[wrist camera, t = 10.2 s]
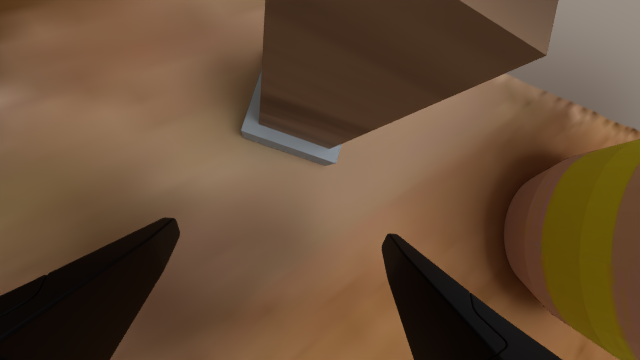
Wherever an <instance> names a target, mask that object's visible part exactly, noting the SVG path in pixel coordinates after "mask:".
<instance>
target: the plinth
mask: <svg viewBox="0 0 640 360" xmlns="http://www.w3.org/2000/svg"><path fill="white" fill-rule="evenodd" d="M261 75H262V68H261V72H260V75H259V78H258V81H257V84H256V87H255V90H254V93H253V96H252V99H251V102H250V105H249V108H248V111H247V114H246V117H245V120H244V123H243V126H242V129H241V132H242V136H243V138H246V139H248V140H251V141H254V142H257V143H260V144H263V145H266V146H269V147H272V148H275V149H278V150H281V151H284V152H287V153H290V154H293V155H296V156H299V157H302V158H305V159H308V160H311V161H313V162H316V163H319V164H322V165H325V166H326V165H331V164H336V162H337V158H338V155H339V152H340V148H341V145H342V144H340V145H338V146H335V147H333V148H331V149H328V148H325V147H322V146H319V145H316V144H314V143H311V142H308V141H305V140H302V139H299V138H297V137H294V136H291V135H288V134H285V133H282V132H279V131H277V130H274V129H271V128H268V127H265V126H262V125H260V124H259V112H260V94H261Z"/></svg>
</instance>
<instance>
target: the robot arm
mask: <svg viewBox="0 0 640 360" xmlns="http://www.w3.org/2000/svg"><path fill="white" fill-rule="evenodd" d="M179 236H180V231H179V228H178V224H177V221H176V219H175V218H166V217H165V218H162V219H160V220H158V221H156V222H154V223H152V224H150V225H147V226H145V227H143V228H141V229H139V230H137V231H135V232H133V233H131V234H129V235H127V236H125V237H123V238H121V239H119V240H117V241H114V242H112V243H110V244H108V245H106V246H104V247H102V248H100V249H98V250H96V251H94V252H92V253H90V254H88V255H86V256H83V257H81V258H79V259H77V260H75V261H73V262H71V263H69V264H67V265H65V266H63V267H61V268H59V269H57V270H55V271H52V272H50V273H49V274H48V275H43V276H41V277H39V278H37V279H35V280H33V281H31V282H29V283H27V284H25V285H23V286H20V287H18V288H16V289H14V290H12V291H10V292H8V293H6V294H3V295H1V296H0V360H110V358H111V357H112V355H113V353H114V352H115V350H116V348H117V347H118V345H119V343H120V342H121V340H122V339H123V337H124V335H125V334H126V332H127V330H128V329H129V327H130V325H131V324H132V322H133V320H134V319H135V317H136V315H137V314H138V312H139V311H140V309H141V307H142V306H143V304H144V302H145V301H146V299H147V297H148V296H149V294H150V292H151V291H152V289H153V287H154V286H155V284H156V282H157V281H158V279H159V278H160V276H161V274H162V272H163V271H164V269H165V267H166V265H167V263H168V261H169V259H170V256H171V254H172V252H173V250H174V248H175V245H176V243H177V241H178V239H179ZM382 254H383V259H384V264H385V269H386V274H387V278H388V282H389V285H390V288H391V291H392V294H393V297H394V300H395V303H396V306H397V309H398V312H399V315H400V319H401V322H402V325H403V328H404V331H405V334H406V337H407V340H408V343H409V346H410V349H411V352H412V355H413V358H414V360H562V359H561V358H559V357H558V356H556V355H555V354H553V353H552V352H551V351H549V350H548V349H546V348H545V347H544V346H542V345H541V344H539V343H538V342H537V341H535V340H534V339H532V338H531V337H530V336H528V335H527V334H525V333H524V332H523V331H521V330H520V329H518V328H517V327H516V326H514V325H513V324H511V323H510V322H509V321H507V320H506V319H505V318H503V317H502V316H500V315H499V314H498V313H496V312H495V311H494V310H492V309H491V308H490V307H489V306H487V305H486V304H485V303H483V302H482V301H481V300H480V299H478V298H477V297H476V296H475V295H473V294H472V293H470V292H469V291H468V290H466V289H465V288H464V287H463V286H461V285H460V284H459V283H458V282H456V281H455V280H454V279H453V278H451V277H450V276H449V275H448V274H446V273H445V272H444V271H443V270H441V269H440V268H439V267H438V266H436V265H435V264H434V263H433V262H431V261H430V260H429V259H427V258H426V257H425V256H424V255H422V254H421V253H420V252H419V251H417V250H416V249H415V248H414V247H412V246H411V245H410V244H409V243H407V242H406V241H405V240H404V239H402V238H401V237H400V236H399V235H397V234H387V236H386V238H385V240H384V242H383V244H382Z"/></svg>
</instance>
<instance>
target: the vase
mask: <svg viewBox="0 0 640 360" xmlns="http://www.w3.org/2000/svg"><path fill="white" fill-rule="evenodd" d="M504 246H505V251H506V255H507V259H508V261H509V264H510V266H511V268H512V270H513V271H514V273H515V274H516V276H517V277H518V278H519V279H520V280H521V281H522V283H523V284H524V285H525V286H526V287H527V288H528V289H529V290H530V291H531V292H532V294H533V295H534V296H535V297H536V298H537V299H538V300H539V301H540V302H541V303H542V305H543V306H544V307H545V308H546V309H547V310H548V311H549V312H550V313H551V314H553V315H554V316H555V317H557V318H558V319H560V320H561V321H563V322H564V323H566V324H567V325H569V326H570V327H572V328H573V329H575V330H576V331H578V332H579V333H581V334H582V335H584V336H585V337H586V338H588V339H589V340H591V341H592V342H594V343H595V344H597V345H598V346H600V347H601V348H603V349H604V350H606V351H607V352H609V353H610V354H612V355H613V356H615V357H616V358H618V359H620V360H640V139H638V140H634V141H630V142H626V143H623V144H619V145H615V146H611V147H607V148H603V149H600V150H596V151H592V152H588V153H584V154H580V155H577V156H573V157H571V158H568V159H565V160H563V161H561V162H560V163H558V164H556V165H554V166H552V167H551V168H549V169H547V170H545V171H544V172H542V173H540V174H538V175H537V176H535V177H533V178H531V179H530V180H528V181H527V182H526V183H524V184H523V185H522V186H521V187H520V189H519V190H518V191H517V192H516V194H515V196H514V197H513V199H512V201H511V203H510V206H509V208H508V211H507V215H506V219H505V225H504Z"/></svg>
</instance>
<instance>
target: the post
mask: <svg viewBox="0 0 640 360" xmlns="http://www.w3.org/2000/svg"><path fill="white" fill-rule="evenodd" d="M557 4H558V0H265V18H264V37H263V56H262V75H261V94H260V112H259V124H260V125H262V126H265V127H268V128H271V129H274V130H277V131H279V132H282V133H285V134H288V135H291V136H294V137H297V138H299V139H302V140H305V141H308V142H311V143H314V144H316V145H319V146H322V147H325V148H328V149H331V148H333V147H335V146H338V145H340V144H342V143H345V142H347V141H349V140H352V139H354V138H356V137H359V136H361V135H363V134H366V133H368V132H370V131H372V130H375V129H377V128H379V127H382V126H384V125H386V124H389V123H391V122H393V121H396V120H398V119H400V118H403V117H405V116H407V115H410V114H412V113H414V112H416V111H419V110H421V109H423V108H426V107H428V106H430V105H433V104H435V103H437V102H440V101H442V100H444V99H447V98H449V97H451V96H454V95H456V94H458V93H460V92H463V91H465V90H467V89H470V88H472V87H474V86H477V85H479V84H481V83H484V82H486V81H488V80H491V79H493V78H495V77H498V76H500V75H502V74H504V73H507V72H509V71H511V70H514V69H516V68H518V67H520V66H523V65H525V64H528V63H530V62H532V61H534V60H537V59H539V58H542V57H544V56H546V55H547V51H548V46H549V41H550V37H551V32H552V27H553V23H554V18H555V13H556V8H557Z"/></svg>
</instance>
